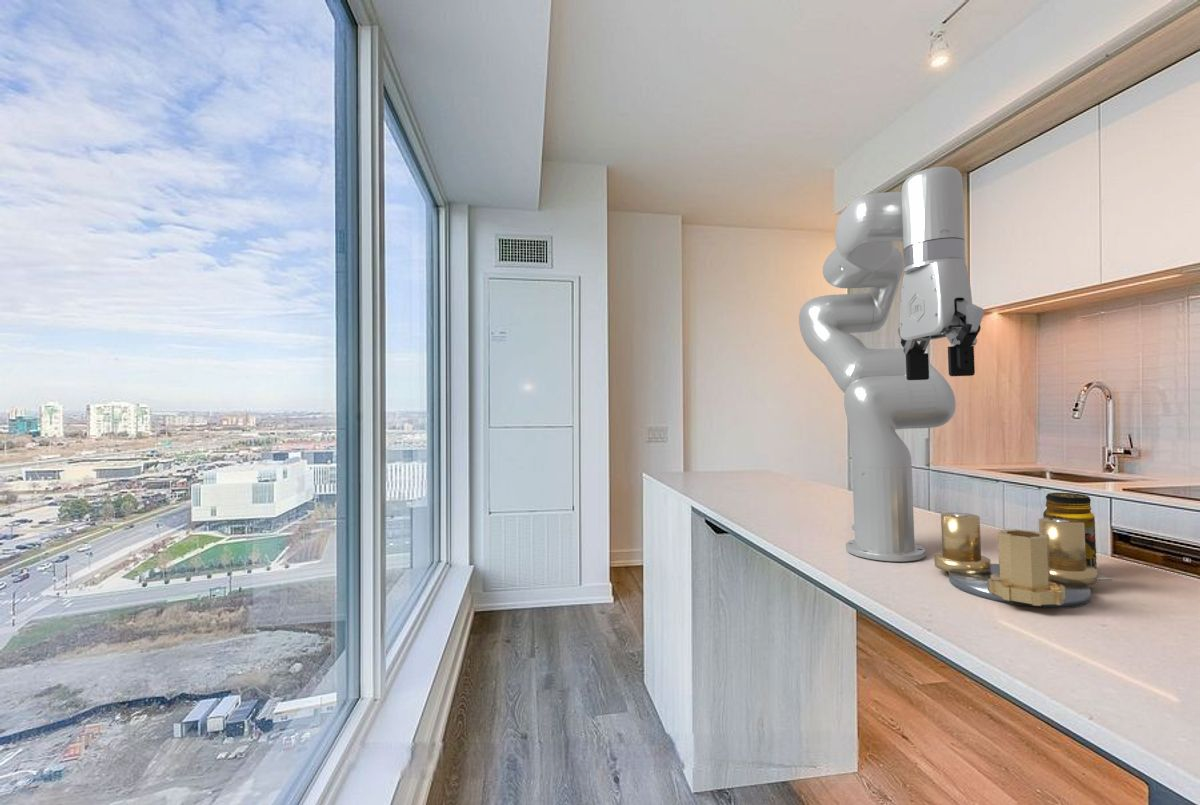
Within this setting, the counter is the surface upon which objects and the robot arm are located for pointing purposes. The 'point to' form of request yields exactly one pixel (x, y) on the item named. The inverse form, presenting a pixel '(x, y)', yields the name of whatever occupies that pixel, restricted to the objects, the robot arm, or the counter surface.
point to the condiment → (1075, 510)
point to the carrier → (975, 569)
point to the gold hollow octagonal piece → (1025, 569)
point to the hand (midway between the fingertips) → (938, 378)
